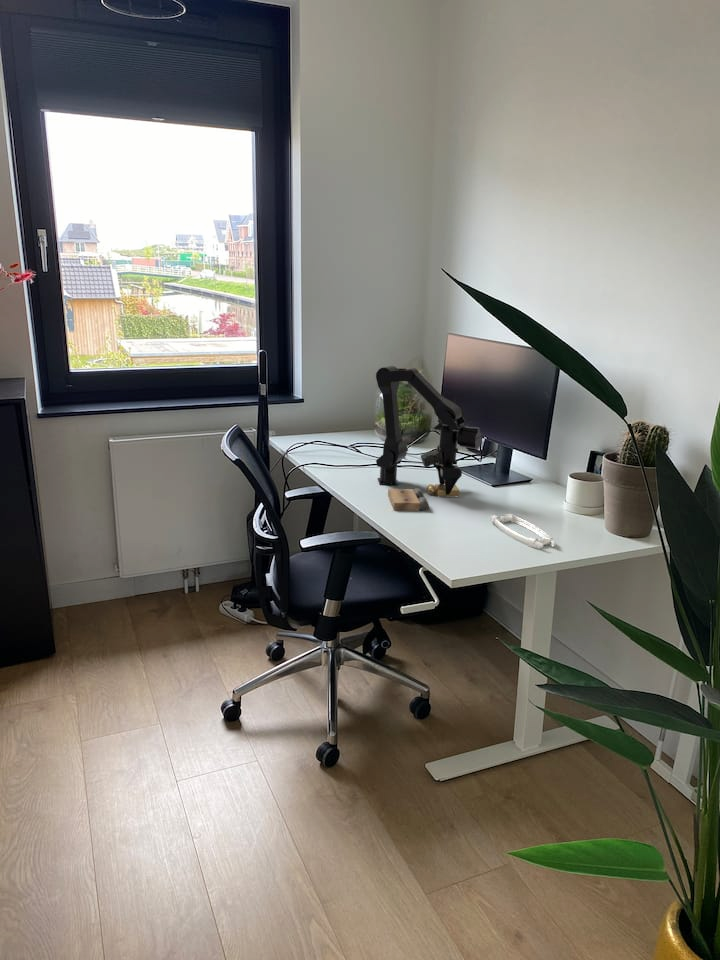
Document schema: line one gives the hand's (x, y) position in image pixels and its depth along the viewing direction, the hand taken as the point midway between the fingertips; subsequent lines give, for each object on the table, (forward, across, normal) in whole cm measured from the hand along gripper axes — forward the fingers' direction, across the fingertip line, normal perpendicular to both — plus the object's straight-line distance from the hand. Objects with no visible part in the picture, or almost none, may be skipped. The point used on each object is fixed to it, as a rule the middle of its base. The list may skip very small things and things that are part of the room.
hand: (444, 490), depth 239 cm
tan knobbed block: (+1, 0, -1) cm, 2 cm away
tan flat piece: (+1, +10, -14) cm, 17 cm away
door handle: (+2, +36, +15) cm, 39 cm away
